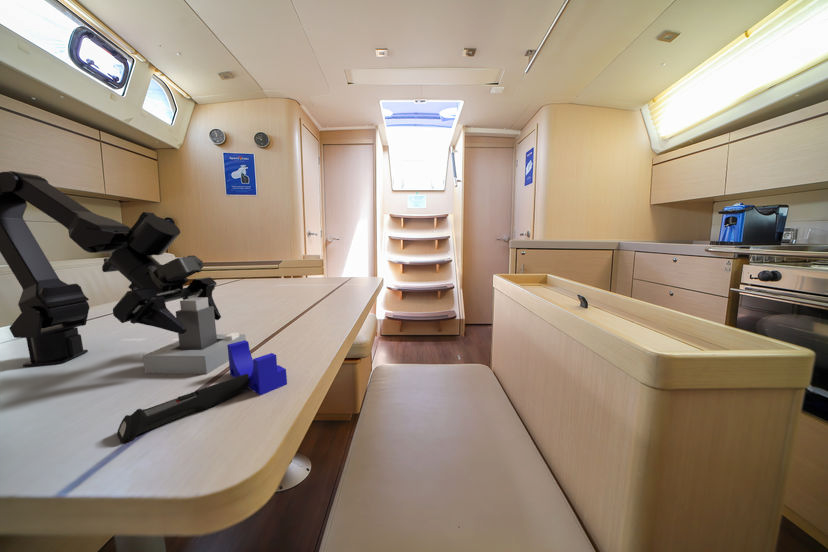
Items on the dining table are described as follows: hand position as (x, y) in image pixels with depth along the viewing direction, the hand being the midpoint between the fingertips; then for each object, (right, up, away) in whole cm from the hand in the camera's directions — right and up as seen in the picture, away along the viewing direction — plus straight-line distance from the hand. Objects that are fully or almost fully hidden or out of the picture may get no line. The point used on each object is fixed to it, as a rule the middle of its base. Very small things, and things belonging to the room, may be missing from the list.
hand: (203, 324), depth 59 cm
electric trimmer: (+10, -10, -17) cm, 22 cm away
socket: (-1, -8, +1) cm, 8 cm away
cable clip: (+15, -9, -7) cm, 19 cm away
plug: (-1, -8, +1) cm, 8 cm away
